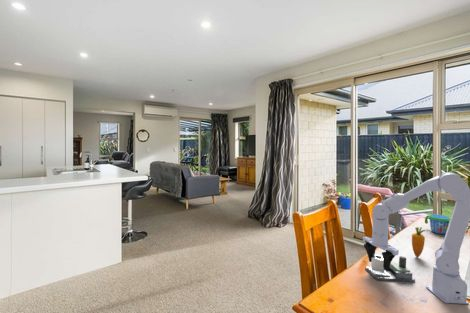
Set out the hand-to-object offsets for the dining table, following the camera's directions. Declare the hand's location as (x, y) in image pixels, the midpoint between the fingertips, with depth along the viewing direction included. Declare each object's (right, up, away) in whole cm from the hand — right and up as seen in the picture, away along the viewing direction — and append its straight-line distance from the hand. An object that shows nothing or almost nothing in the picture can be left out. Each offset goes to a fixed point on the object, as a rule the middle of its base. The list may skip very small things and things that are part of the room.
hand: (378, 264), depth 103 cm
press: (+3, -4, 0) cm, 5 cm away
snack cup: (+67, -3, +52) cm, 85 cm away
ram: (+8, -2, 0) cm, 9 cm away
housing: (0, -2, 0) cm, 2 cm away
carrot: (+28, -4, +17) cm, 33 cm away
